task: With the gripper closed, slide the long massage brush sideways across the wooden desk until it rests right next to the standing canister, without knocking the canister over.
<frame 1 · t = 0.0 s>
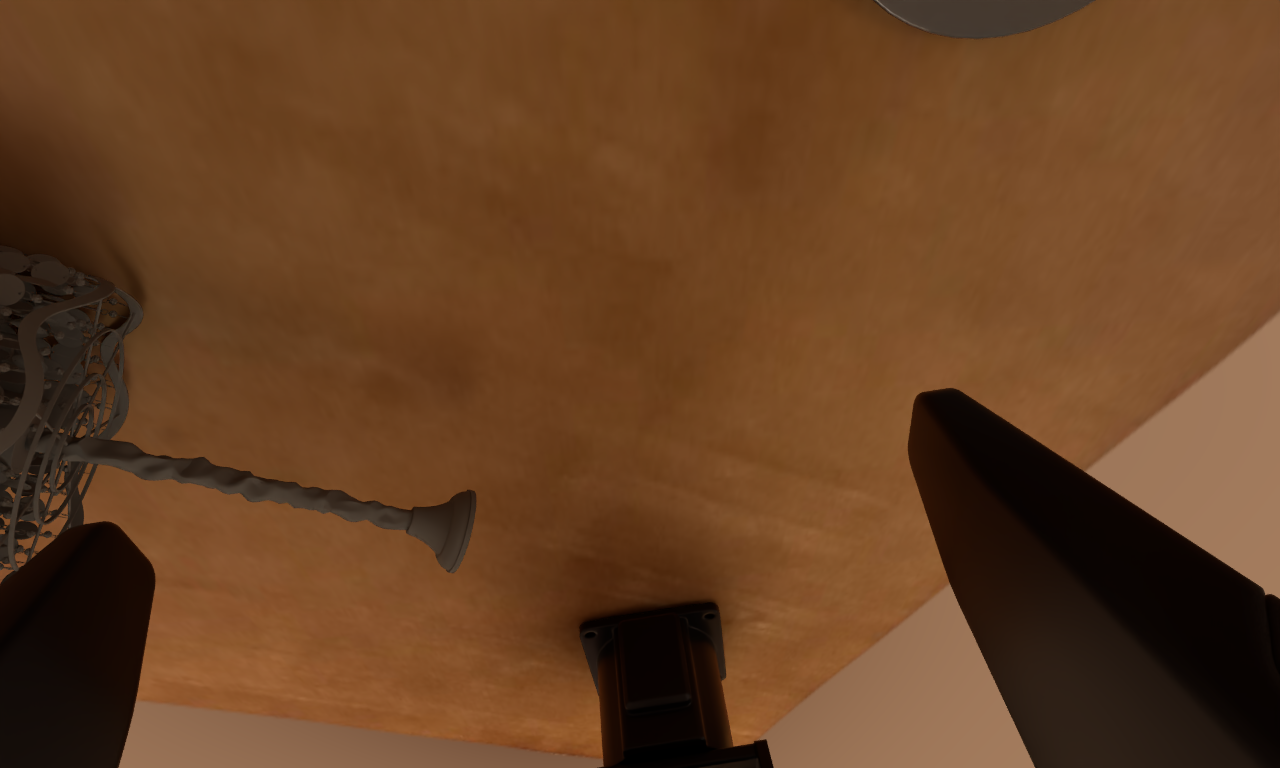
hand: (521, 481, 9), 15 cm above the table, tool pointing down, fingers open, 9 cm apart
massage brush: (126, 331, 24), on the table
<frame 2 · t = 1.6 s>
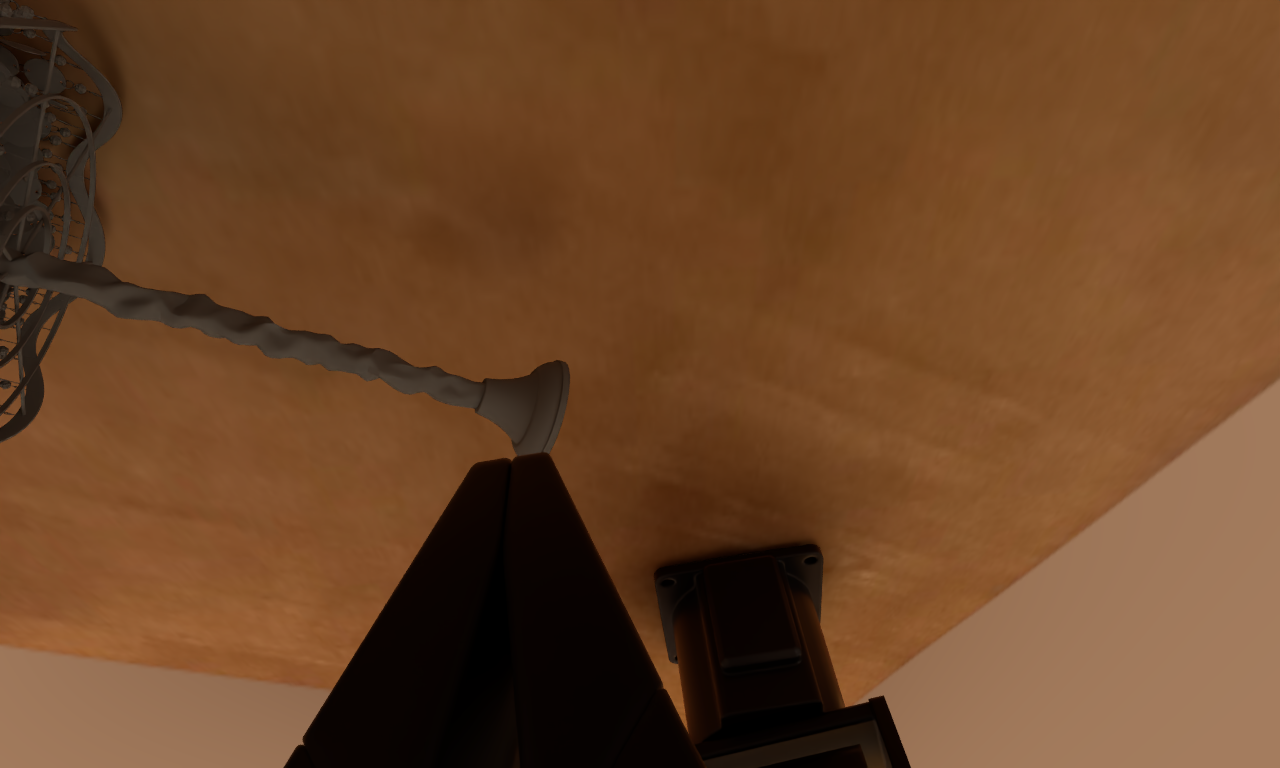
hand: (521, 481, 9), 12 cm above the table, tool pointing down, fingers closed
massage brush: (100, 147, 18), on the table
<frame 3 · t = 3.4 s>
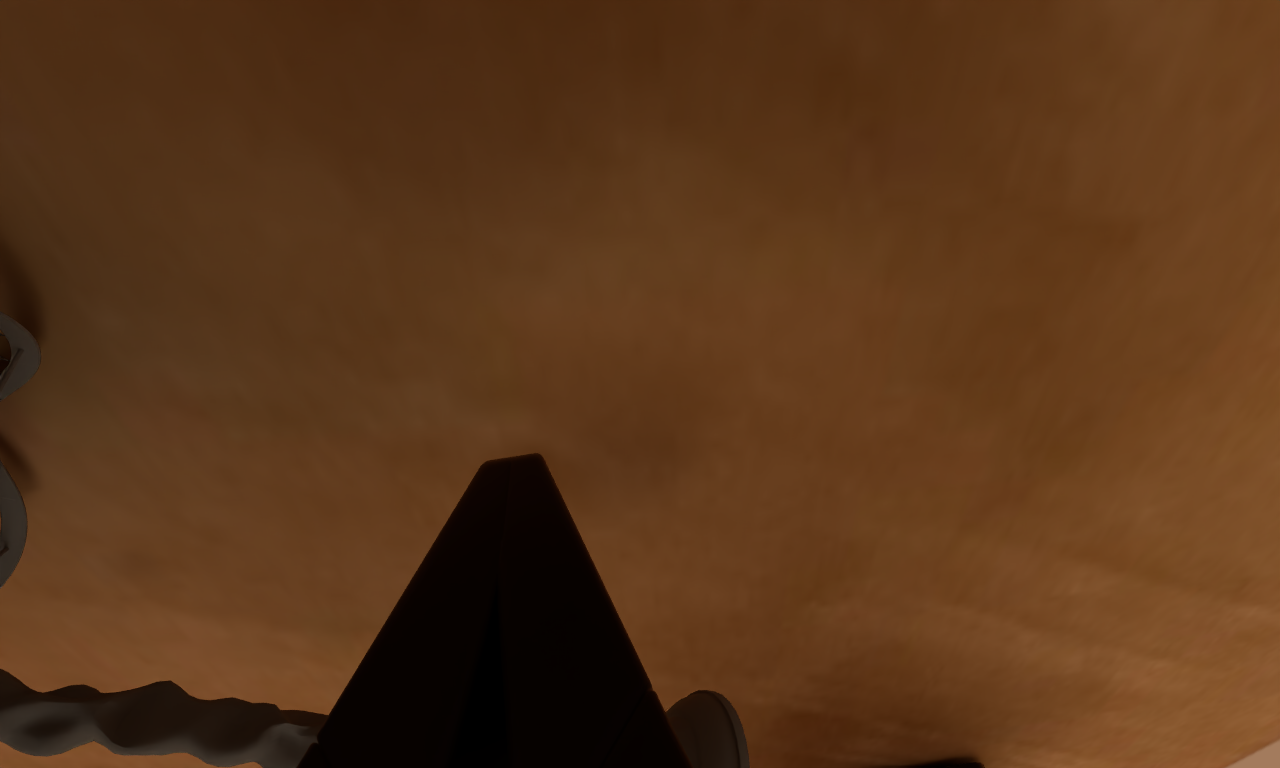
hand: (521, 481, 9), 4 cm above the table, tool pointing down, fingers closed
massage brush: (14, 385, 12), on the table, touching gripper
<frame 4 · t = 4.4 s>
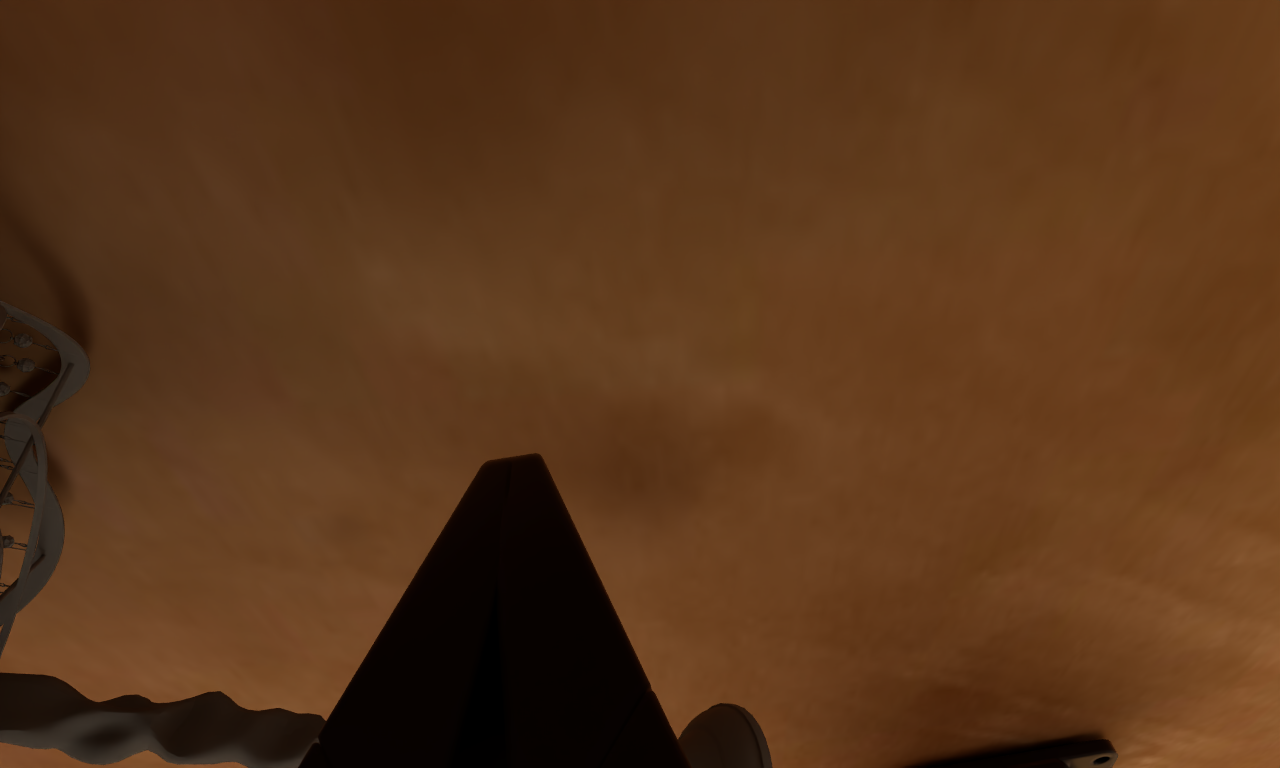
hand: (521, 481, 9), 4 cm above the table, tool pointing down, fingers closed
massage brush: (57, 396, 12), on the table, touching gripper
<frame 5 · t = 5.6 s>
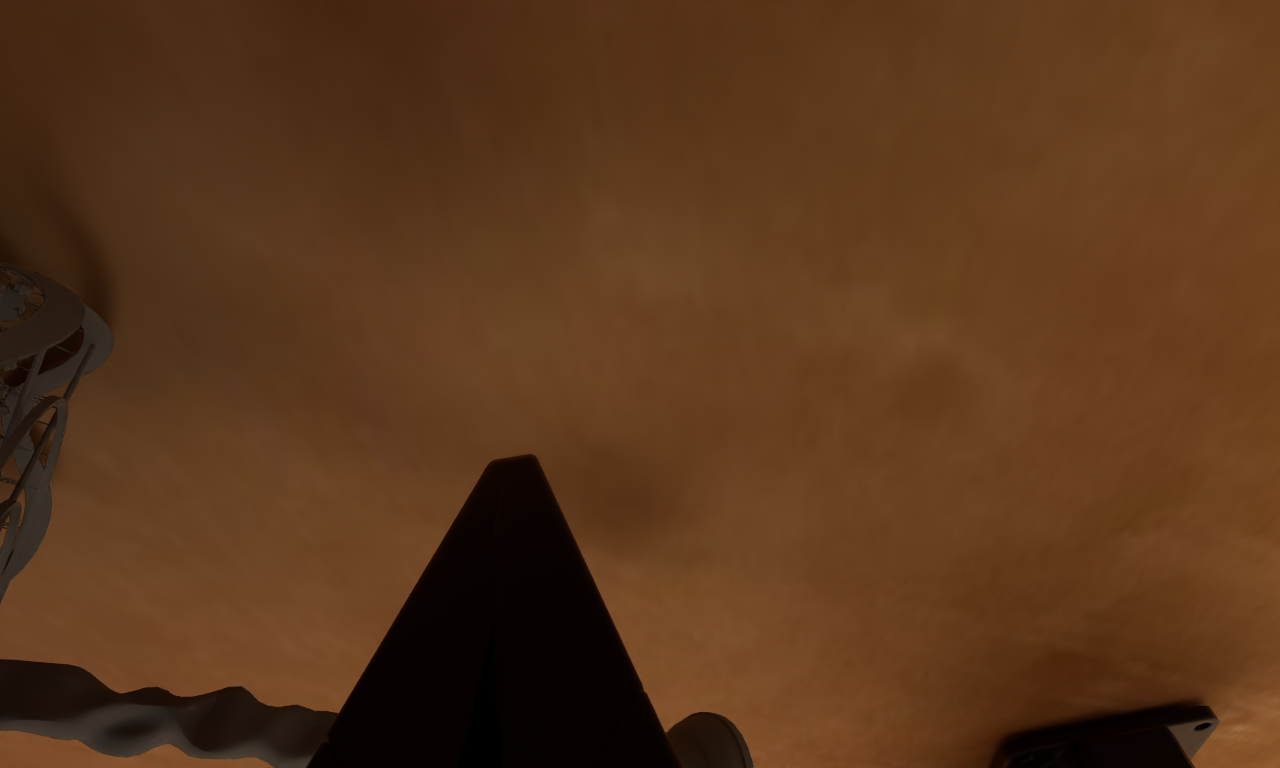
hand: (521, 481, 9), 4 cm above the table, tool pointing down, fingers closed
massage brush: (61, 373, 12), on the table, touching canister, gripper
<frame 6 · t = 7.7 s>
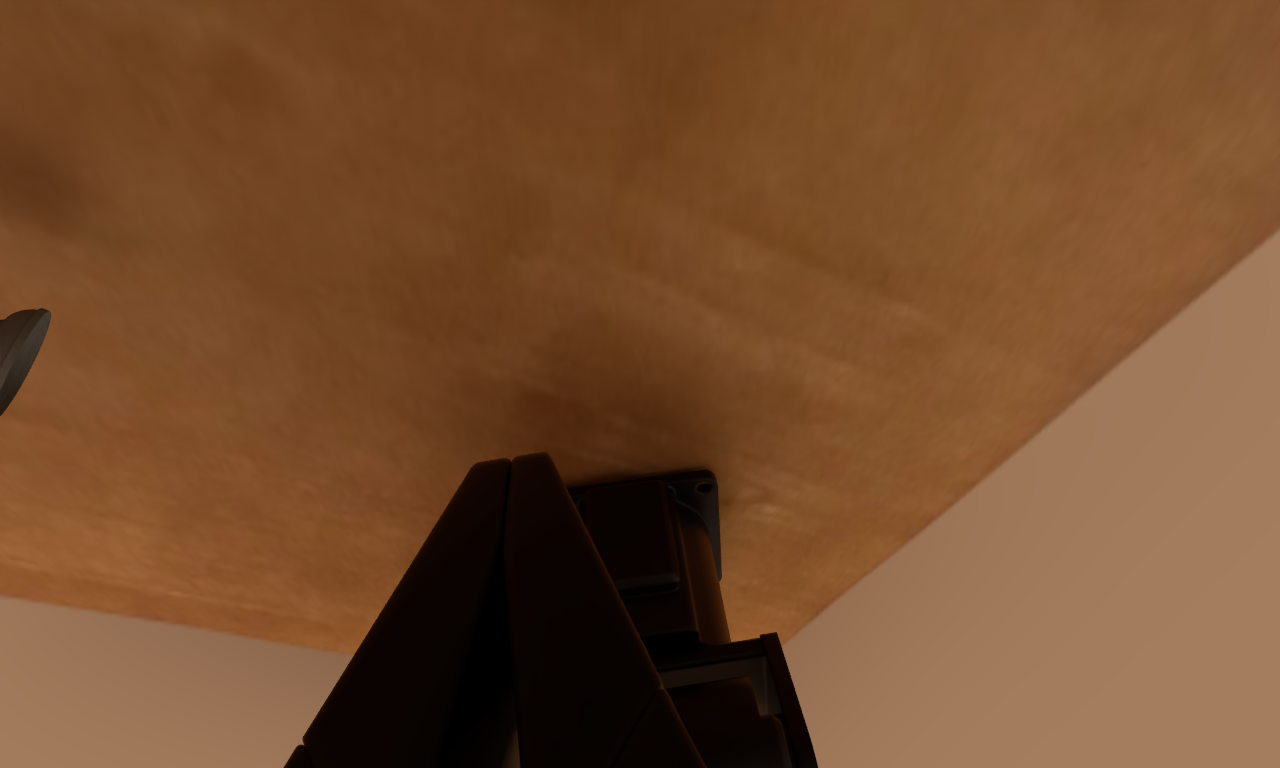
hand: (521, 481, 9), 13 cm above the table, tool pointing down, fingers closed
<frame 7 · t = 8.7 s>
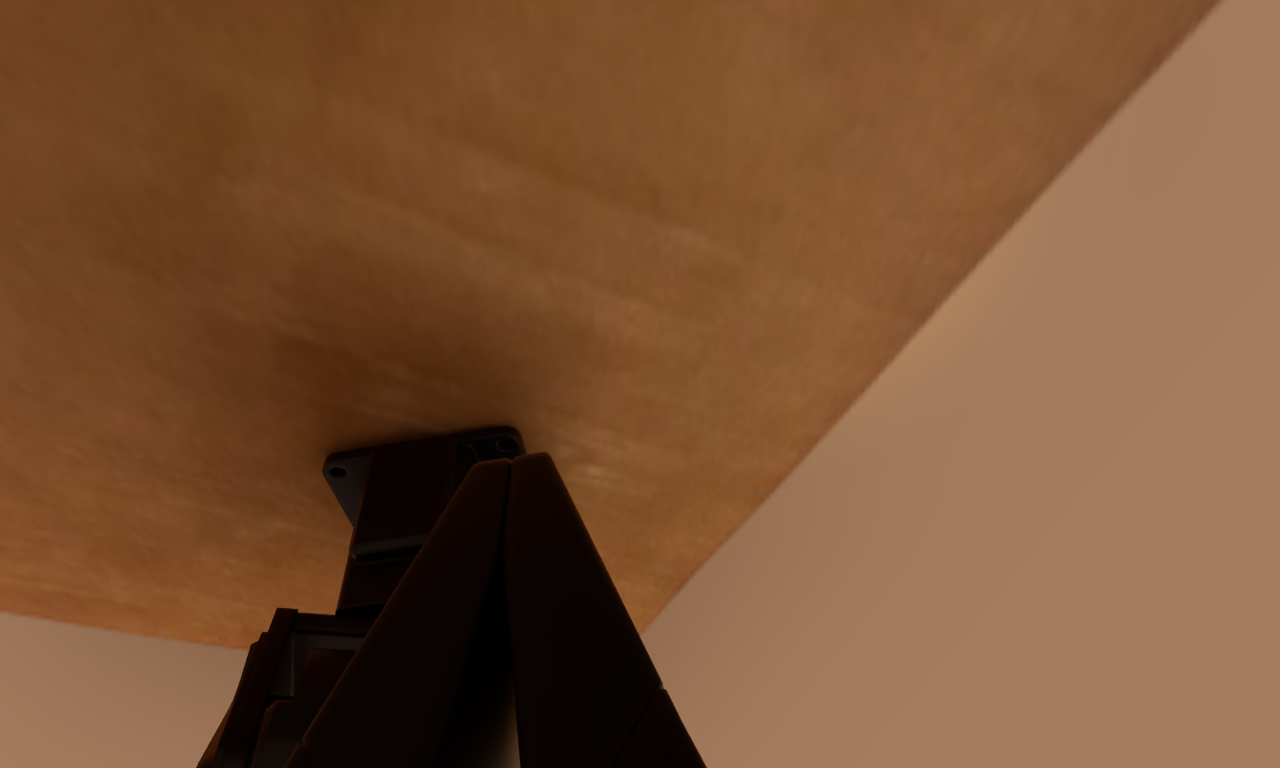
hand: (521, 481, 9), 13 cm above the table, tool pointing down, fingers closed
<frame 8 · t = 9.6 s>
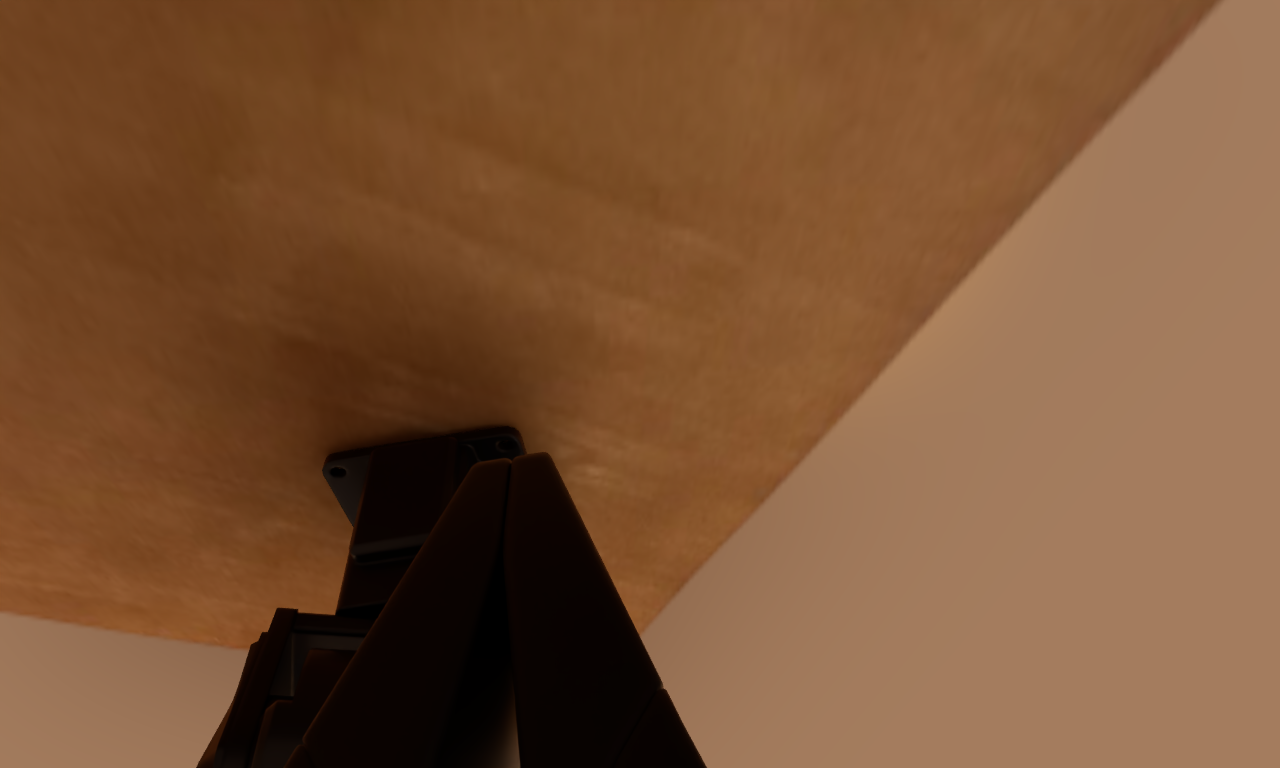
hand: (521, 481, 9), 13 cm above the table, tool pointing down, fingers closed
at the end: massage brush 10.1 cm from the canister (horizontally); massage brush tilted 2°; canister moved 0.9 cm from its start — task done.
